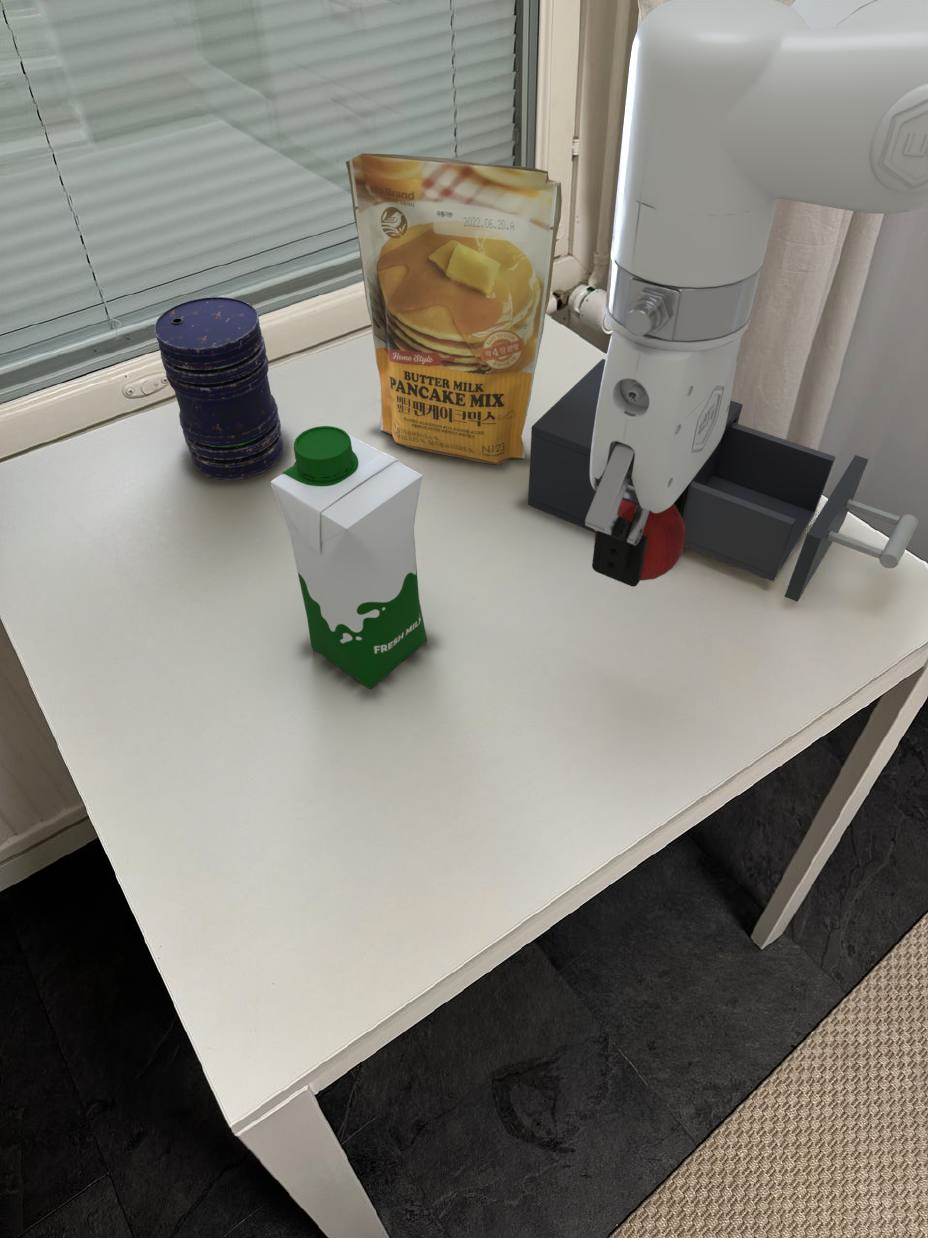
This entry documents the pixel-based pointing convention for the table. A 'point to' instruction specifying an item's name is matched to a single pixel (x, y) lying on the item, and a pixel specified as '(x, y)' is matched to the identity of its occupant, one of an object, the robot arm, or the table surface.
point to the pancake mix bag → (455, 296)
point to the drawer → (778, 508)
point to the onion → (658, 538)
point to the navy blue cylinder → (221, 386)
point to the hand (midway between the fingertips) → (638, 544)
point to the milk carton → (354, 550)
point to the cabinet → (572, 451)
